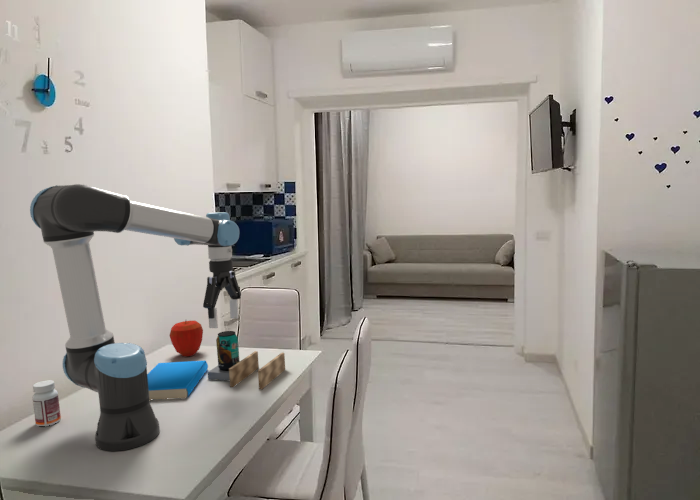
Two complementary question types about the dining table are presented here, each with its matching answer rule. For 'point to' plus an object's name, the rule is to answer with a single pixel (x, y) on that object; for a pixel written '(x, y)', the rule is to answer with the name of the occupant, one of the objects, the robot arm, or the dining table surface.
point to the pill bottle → (46, 403)
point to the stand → (218, 374)
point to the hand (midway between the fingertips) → (224, 323)
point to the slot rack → (251, 365)
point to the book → (175, 379)
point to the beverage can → (227, 350)
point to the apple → (186, 337)
